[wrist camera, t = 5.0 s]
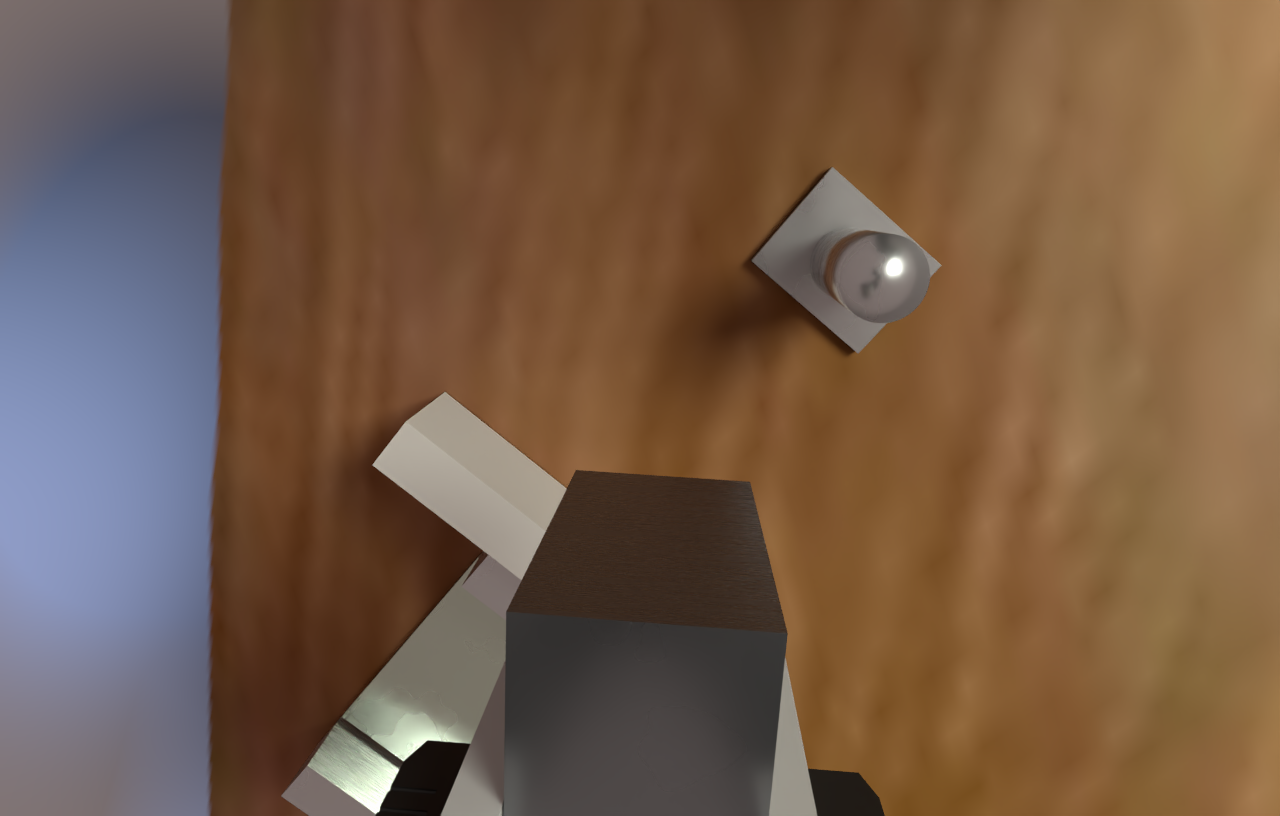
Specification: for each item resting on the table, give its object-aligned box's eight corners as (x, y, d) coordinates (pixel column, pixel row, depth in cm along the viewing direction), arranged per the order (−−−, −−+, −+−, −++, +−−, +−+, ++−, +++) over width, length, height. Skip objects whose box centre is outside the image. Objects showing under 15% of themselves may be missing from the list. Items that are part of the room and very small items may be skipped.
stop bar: (576, 470, 15) (480, 663, 8) (749, 481, 15) (801, 689, 8) (563, 847, 17) (477, 1260, 10) (717, 861, 17) (735, 1292, 10)
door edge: (444, 391, 29) (406, 421, 25) (762, 644, 30) (772, 708, 27) (415, 430, 29) (372, 465, 25) (729, 676, 31) (734, 744, 27)
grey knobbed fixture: (830, 167, 26) (869, 157, 20) (937, 264, 26) (1006, 281, 20) (750, 260, 27) (765, 276, 21) (855, 351, 27) (898, 391, 21)
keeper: (513, 514, 30) (493, 548, 27) (631, 607, 30) (624, 649, 28) (317, 744, 33) (281, 796, 30) (426, 822, 34) (401, 880, 31)
